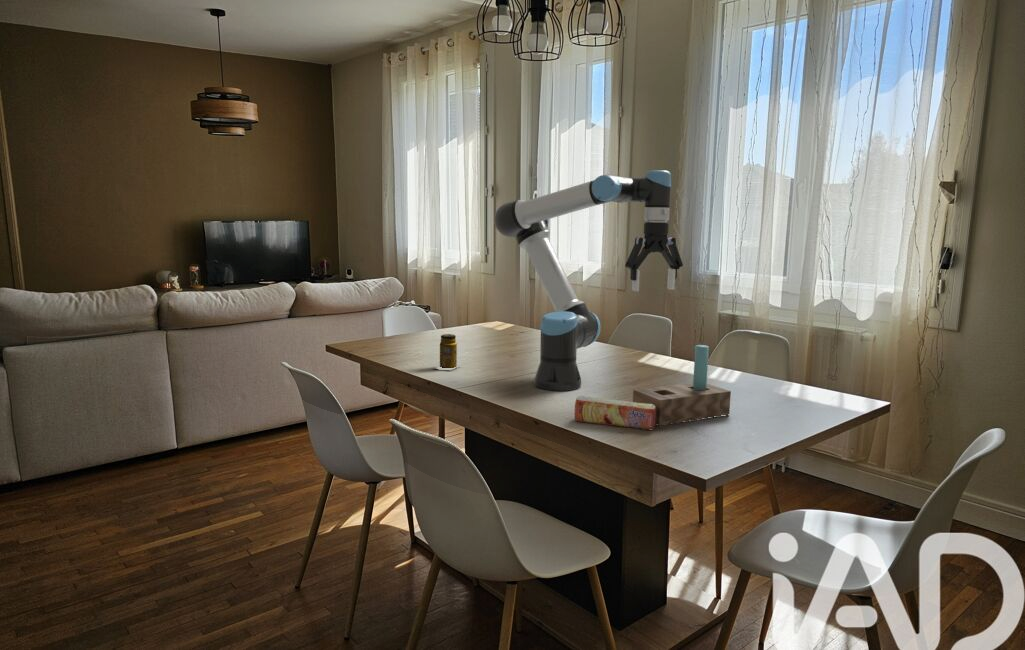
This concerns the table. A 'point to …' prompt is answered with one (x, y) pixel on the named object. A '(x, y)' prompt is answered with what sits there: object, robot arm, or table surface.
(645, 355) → the table surface
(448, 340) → the condiment
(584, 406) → the snack package
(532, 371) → the table surface
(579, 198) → the robot arm
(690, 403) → the hole block
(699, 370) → the peg
